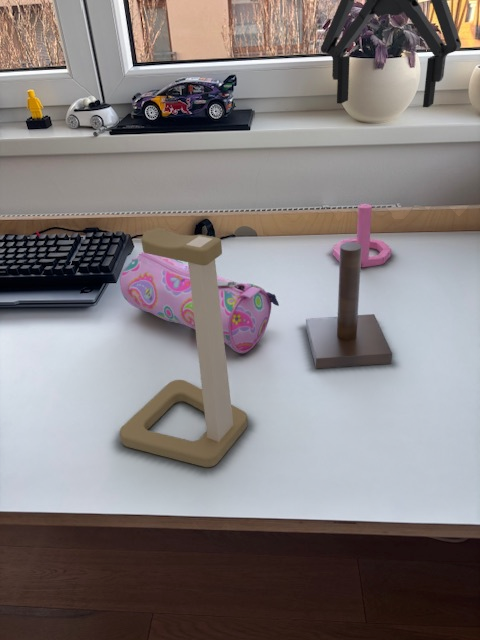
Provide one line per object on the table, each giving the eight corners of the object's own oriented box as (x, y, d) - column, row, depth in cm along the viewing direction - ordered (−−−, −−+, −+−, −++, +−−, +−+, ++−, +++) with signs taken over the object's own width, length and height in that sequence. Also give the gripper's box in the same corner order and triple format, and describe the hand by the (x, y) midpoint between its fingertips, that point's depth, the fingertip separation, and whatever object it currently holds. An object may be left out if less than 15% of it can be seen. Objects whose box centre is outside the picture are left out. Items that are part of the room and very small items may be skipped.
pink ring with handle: (331, 268, 87) (333, 208, 81) (333, 243, 95) (335, 187, 89) (392, 269, 85) (397, 208, 80) (389, 243, 93) (394, 186, 88)
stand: (373, 323, 72) (380, 228, 65) (391, 363, 64) (401, 260, 57) (305, 328, 72) (305, 233, 65) (315, 368, 65) (316, 266, 57)
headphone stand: (176, 385, 63) (147, 205, 52) (258, 414, 58) (247, 221, 47) (115, 443, 56) (66, 247, 44) (203, 481, 51) (174, 271, 39)
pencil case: (281, 333, 71) (279, 272, 67) (236, 368, 66) (231, 303, 61) (168, 291, 84) (160, 236, 79) (122, 317, 78) (110, 259, 73)
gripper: (298, -55, 76) (300, 104, 87) (488, -77, 64) (461, 112, 75) (322, -55, 81) (320, 96, 92) (500, -75, 69) (474, 102, 80)
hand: (383, 103), depth 84 cm, fingers open, 13 cm apart
